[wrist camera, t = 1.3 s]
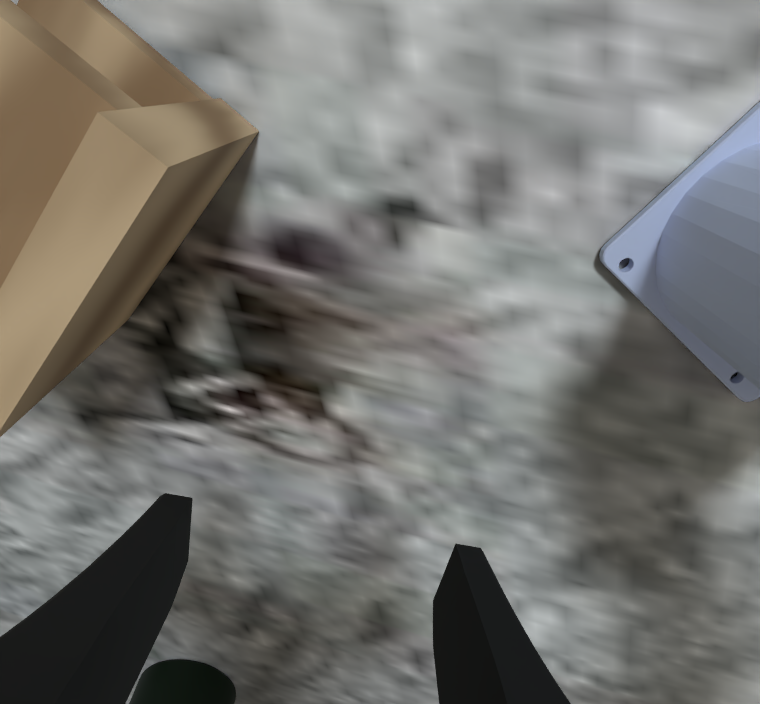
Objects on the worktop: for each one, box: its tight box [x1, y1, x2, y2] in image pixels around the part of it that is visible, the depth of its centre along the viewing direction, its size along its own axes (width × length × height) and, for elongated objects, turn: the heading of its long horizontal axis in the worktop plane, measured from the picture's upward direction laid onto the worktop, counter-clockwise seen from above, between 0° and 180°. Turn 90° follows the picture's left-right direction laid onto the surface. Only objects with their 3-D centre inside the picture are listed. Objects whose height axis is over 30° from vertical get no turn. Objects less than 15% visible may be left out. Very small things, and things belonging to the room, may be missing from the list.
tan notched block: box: [0, 0, 259, 437], centre depth 15 cm, size 8×9×6 cm
